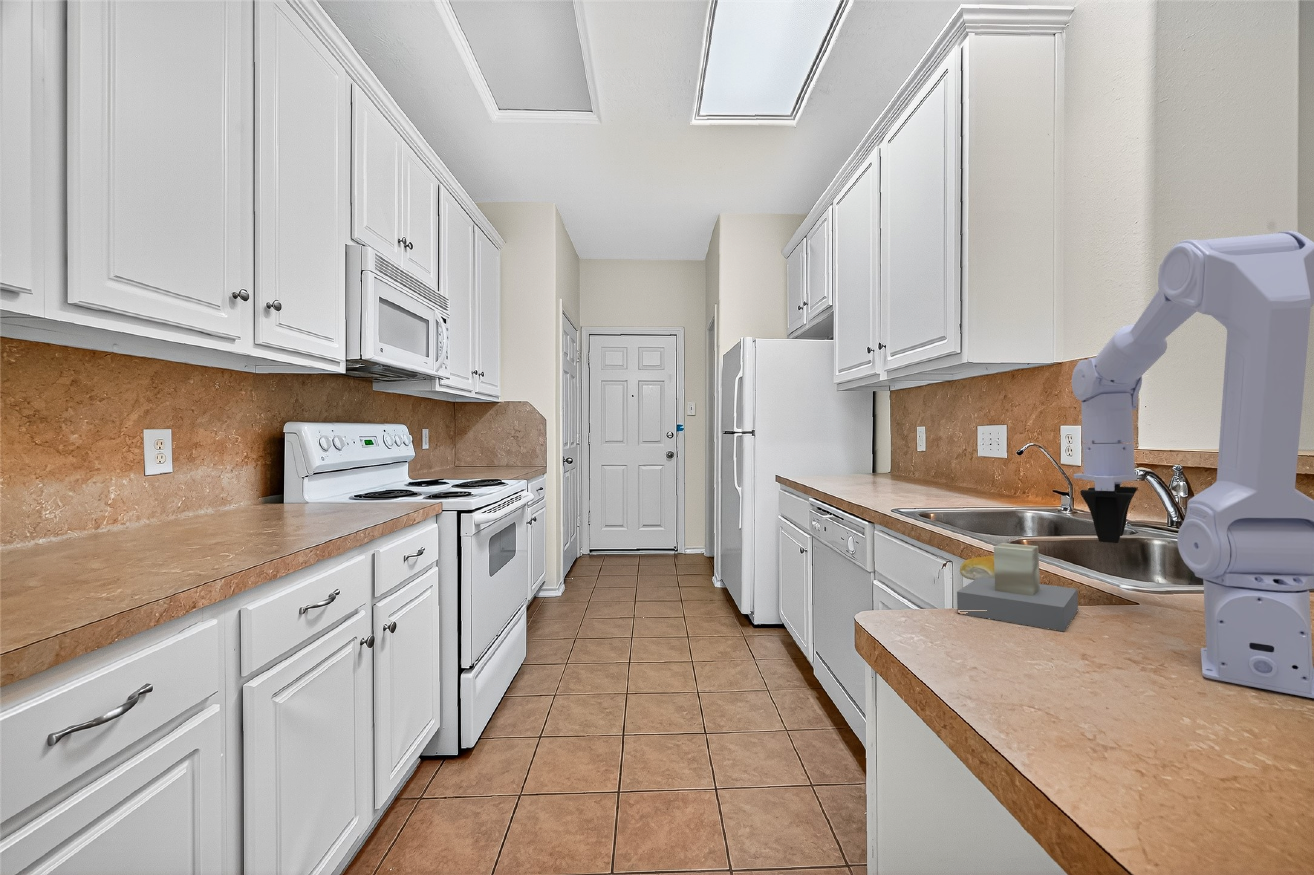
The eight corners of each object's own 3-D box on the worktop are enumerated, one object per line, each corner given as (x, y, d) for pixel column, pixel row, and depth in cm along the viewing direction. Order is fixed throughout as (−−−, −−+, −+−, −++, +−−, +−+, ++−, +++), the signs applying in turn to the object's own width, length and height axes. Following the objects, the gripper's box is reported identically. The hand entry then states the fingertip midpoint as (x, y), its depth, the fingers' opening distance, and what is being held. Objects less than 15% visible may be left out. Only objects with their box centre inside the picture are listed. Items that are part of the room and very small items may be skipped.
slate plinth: (1064, 631, 69) (1063, 607, 69) (957, 613, 77) (956, 591, 77) (1078, 610, 77) (1077, 588, 77) (980, 596, 86) (980, 576, 86)
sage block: (1032, 596, 74) (1031, 550, 74) (995, 590, 77) (993, 547, 77) (1039, 589, 77) (1038, 546, 77) (1003, 584, 80) (1001, 542, 80)
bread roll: (1025, 578, 97) (1024, 555, 97) (1001, 586, 92) (1000, 562, 92) (976, 570, 104) (975, 549, 104) (951, 577, 99) (950, 555, 99)
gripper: (1079, 443, 88) (1082, 530, 88) (1065, 444, 77) (1069, 542, 77) (1138, 442, 83) (1141, 534, 83) (1132, 443, 73) (1136, 547, 72)
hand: (1111, 538), depth 80 cm, fingers open, 7 cm apart
